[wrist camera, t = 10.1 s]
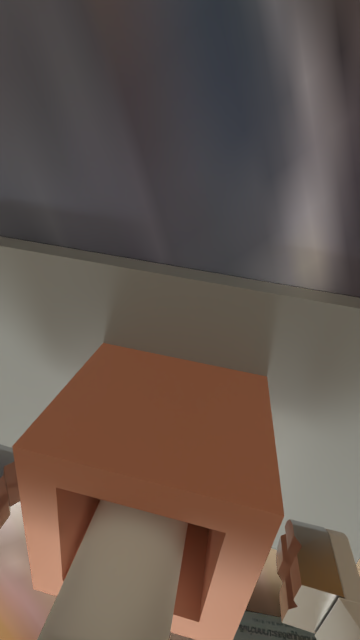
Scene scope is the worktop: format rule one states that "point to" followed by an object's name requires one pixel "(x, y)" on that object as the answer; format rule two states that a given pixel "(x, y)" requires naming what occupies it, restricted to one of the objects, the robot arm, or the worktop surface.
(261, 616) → the beverage carton
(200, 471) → the collar
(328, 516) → the post board
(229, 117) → the worktop surface
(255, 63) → the worktop surface
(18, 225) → the worktop surface
